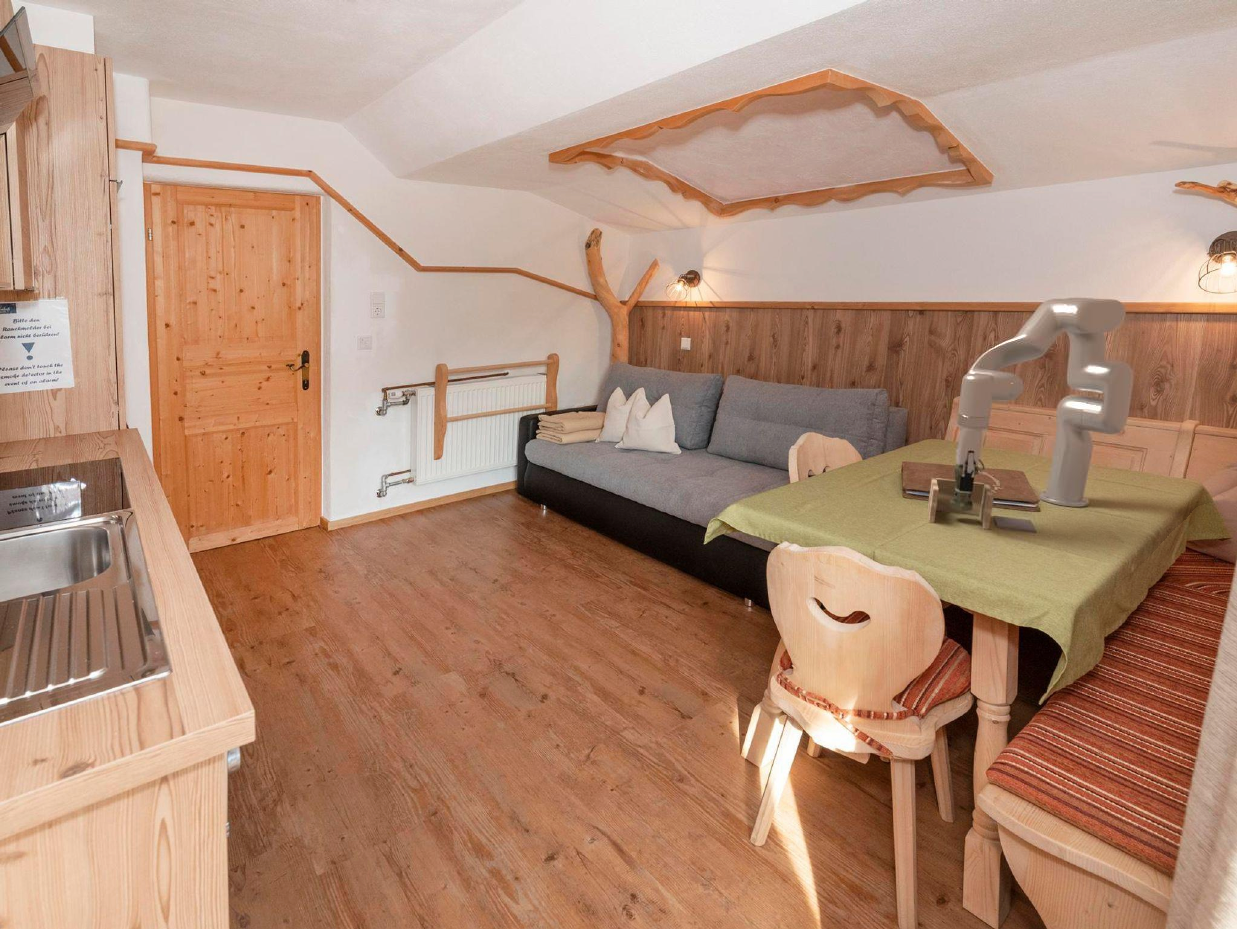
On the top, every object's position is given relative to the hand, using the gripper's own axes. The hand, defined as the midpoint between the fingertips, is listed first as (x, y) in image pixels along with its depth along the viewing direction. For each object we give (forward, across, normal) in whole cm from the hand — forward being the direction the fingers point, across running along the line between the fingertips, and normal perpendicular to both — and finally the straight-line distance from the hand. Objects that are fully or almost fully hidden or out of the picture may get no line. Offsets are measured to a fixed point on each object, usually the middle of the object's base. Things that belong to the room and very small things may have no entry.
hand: (964, 486), depth 194 cm
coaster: (+10, -2, +13) cm, 17 cm away
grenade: (+6, 0, 0) cm, 6 cm away
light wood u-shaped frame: (+10, -1, -1) cm, 10 cm away
